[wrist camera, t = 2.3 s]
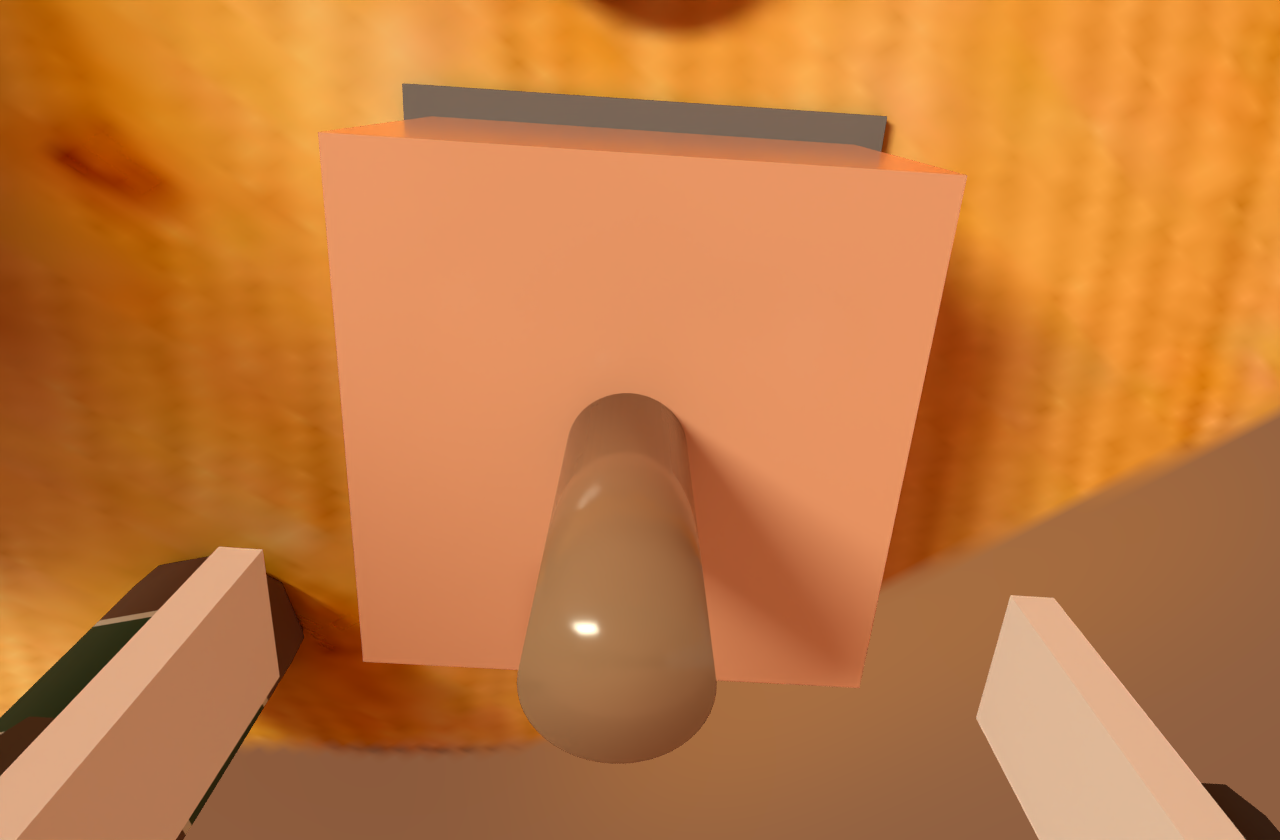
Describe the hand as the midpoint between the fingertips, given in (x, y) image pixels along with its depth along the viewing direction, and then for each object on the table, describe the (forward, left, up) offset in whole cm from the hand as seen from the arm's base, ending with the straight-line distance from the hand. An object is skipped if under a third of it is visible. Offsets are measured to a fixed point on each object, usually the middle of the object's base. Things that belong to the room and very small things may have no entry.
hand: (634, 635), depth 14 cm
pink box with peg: (0, 0, -19) cm, 19 cm away
